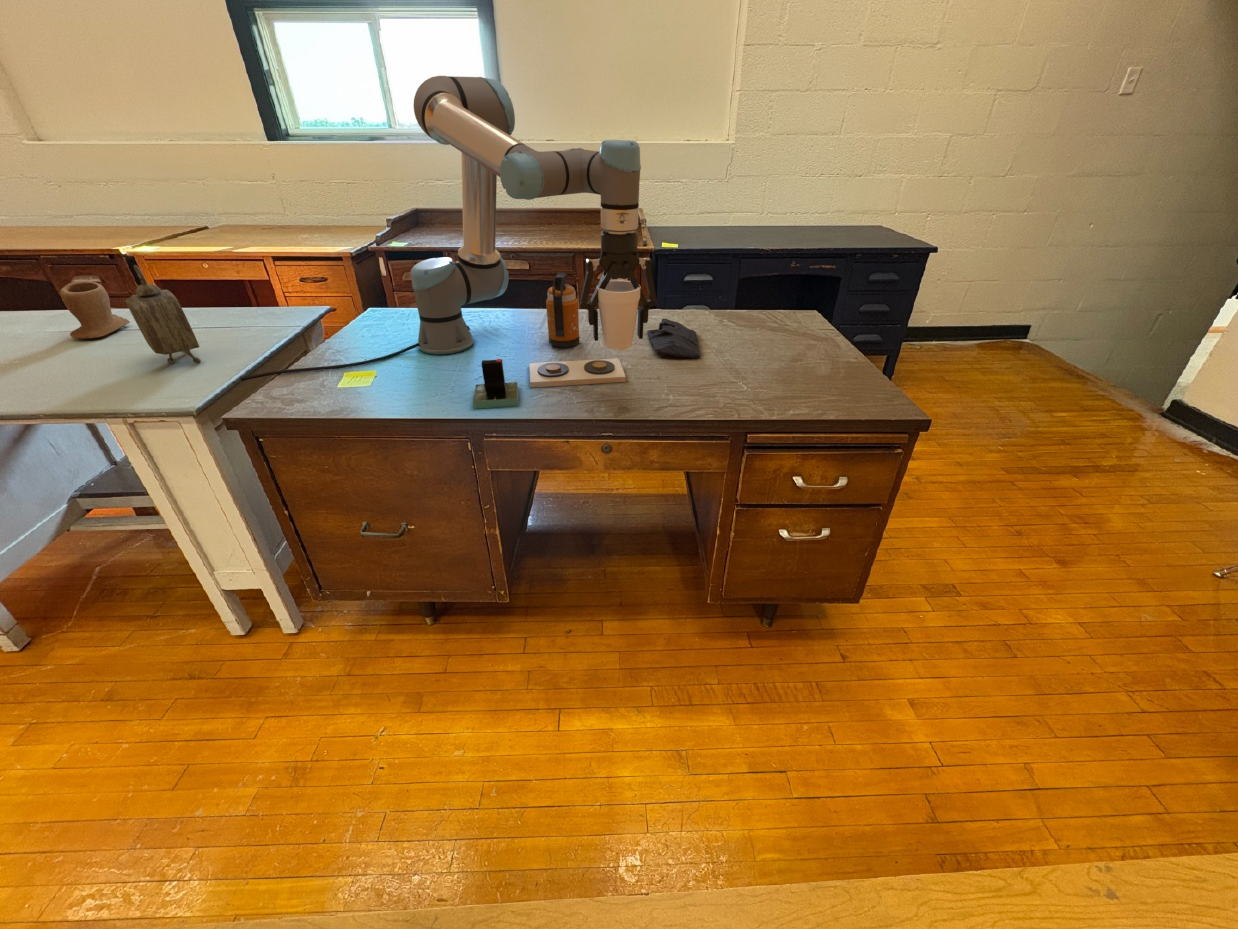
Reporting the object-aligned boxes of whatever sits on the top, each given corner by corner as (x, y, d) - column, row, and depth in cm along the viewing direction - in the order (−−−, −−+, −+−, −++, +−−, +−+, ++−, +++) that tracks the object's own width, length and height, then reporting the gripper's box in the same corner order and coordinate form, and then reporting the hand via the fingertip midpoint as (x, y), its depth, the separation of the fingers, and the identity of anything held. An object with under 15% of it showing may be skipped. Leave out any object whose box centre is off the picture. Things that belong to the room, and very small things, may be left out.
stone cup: (107, 341, 153) (77, 290, 145) (66, 341, 153) (34, 289, 145) (145, 324, 166) (120, 275, 157) (107, 324, 166) (80, 275, 157)
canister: (581, 338, 158) (579, 270, 146) (575, 352, 149) (572, 280, 137) (552, 337, 158) (547, 269, 147) (544, 350, 149) (539, 279, 138)
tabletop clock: (208, 363, 140) (162, 267, 126) (167, 373, 135) (115, 274, 121) (193, 349, 149) (149, 257, 135) (154, 358, 143) (104, 263, 129)
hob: (530, 387, 129) (529, 378, 128) (530, 368, 139) (529, 359, 138) (625, 381, 132) (625, 372, 131) (618, 363, 142) (618, 354, 141)
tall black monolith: (485, 393, 122) (481, 362, 118) (486, 390, 123) (481, 359, 119) (505, 392, 123) (501, 361, 118) (505, 388, 124) (502, 358, 120)
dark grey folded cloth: (647, 359, 145) (648, 342, 142) (647, 331, 163) (647, 316, 160) (702, 360, 144) (704, 343, 142) (696, 332, 162) (697, 317, 160)
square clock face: (474, 409, 120) (472, 400, 119) (477, 391, 127) (475, 383, 126) (518, 406, 121) (517, 397, 120) (518, 389, 128) (517, 381, 127)
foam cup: (608, 355, 113) (608, 294, 106) (590, 340, 120) (589, 283, 112) (646, 347, 117) (648, 289, 109) (626, 334, 123) (628, 278, 116)
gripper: (565, 235, 100) (570, 346, 113) (677, 233, 103) (669, 341, 116) (563, 227, 106) (567, 333, 119) (668, 226, 109) (662, 329, 122)
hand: (618, 337), depth 117 cm, fingers closed on foam cup, 9 cm apart
